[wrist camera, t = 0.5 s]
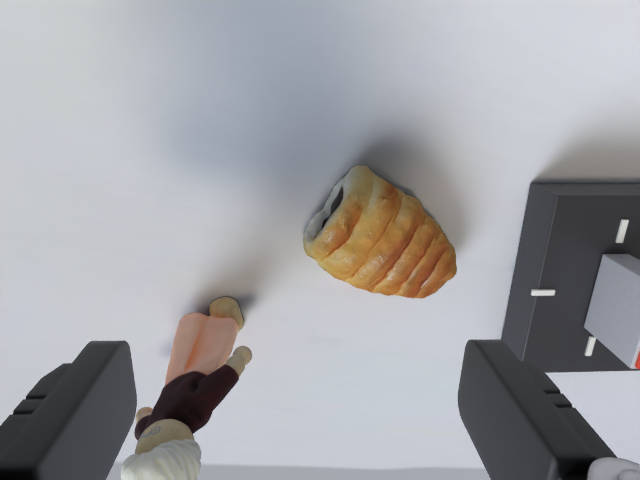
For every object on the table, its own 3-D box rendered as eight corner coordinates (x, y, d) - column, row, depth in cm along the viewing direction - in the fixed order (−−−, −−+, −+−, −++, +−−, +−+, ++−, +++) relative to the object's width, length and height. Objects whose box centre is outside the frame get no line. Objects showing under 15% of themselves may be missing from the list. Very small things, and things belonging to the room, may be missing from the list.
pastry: (472, 230, 28) (497, 253, 25) (410, 309, 30) (425, 342, 26) (349, 153, 26) (358, 167, 22) (291, 244, 28) (290, 270, 24)
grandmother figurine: (223, 272, 28) (169, 416, 16) (267, 308, 29) (247, 467, 18) (149, 346, 30) (53, 526, 18) (194, 377, 31) (131, 566, 19)
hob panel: (524, 182, 27) (552, 196, 24) (667, 183, 28) (711, 196, 25) (494, 347, 31) (515, 375, 28) (618, 344, 32) (650, 372, 29)
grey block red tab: (602, 253, 26) (661, 288, 22) (628, 253, 26) (692, 288, 22) (583, 327, 28) (633, 372, 23) (607, 326, 28) (662, 371, 23)
